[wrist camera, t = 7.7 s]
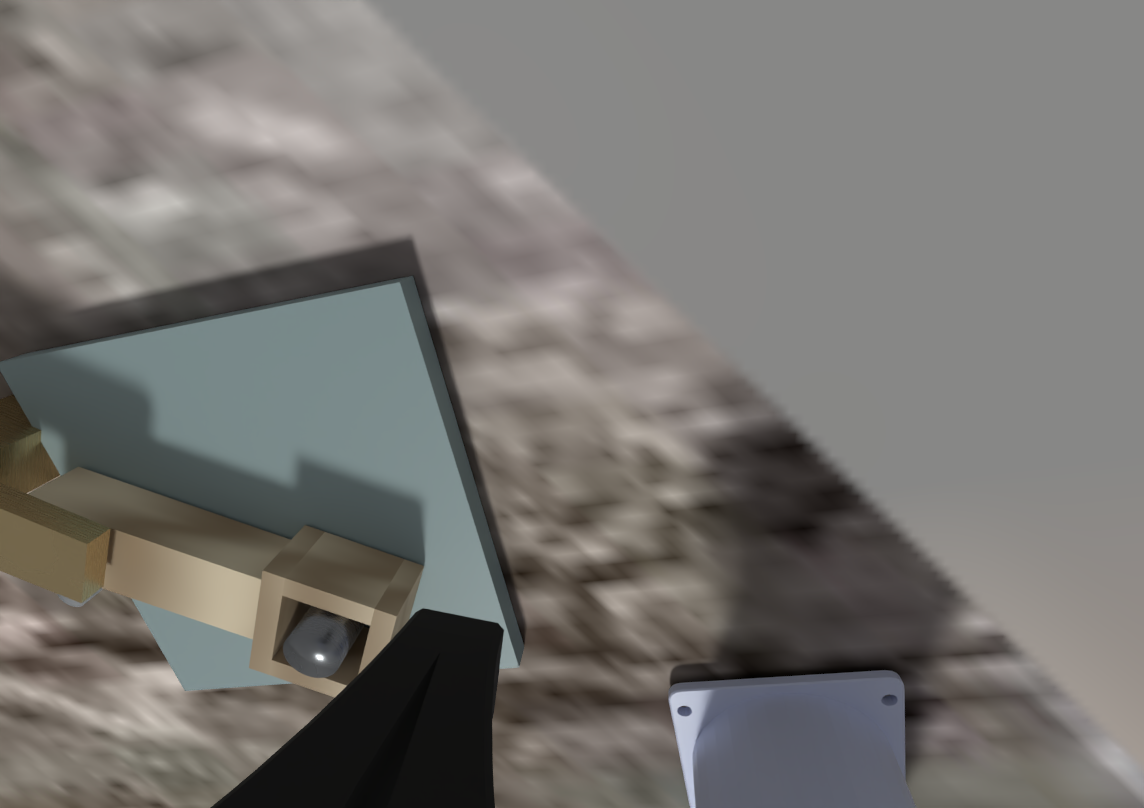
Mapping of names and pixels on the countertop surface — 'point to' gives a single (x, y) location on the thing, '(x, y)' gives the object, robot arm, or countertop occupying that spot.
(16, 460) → the keeper
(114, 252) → the countertop surface
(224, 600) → the link
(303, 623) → the cylinder
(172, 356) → the base board
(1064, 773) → the countertop surface
